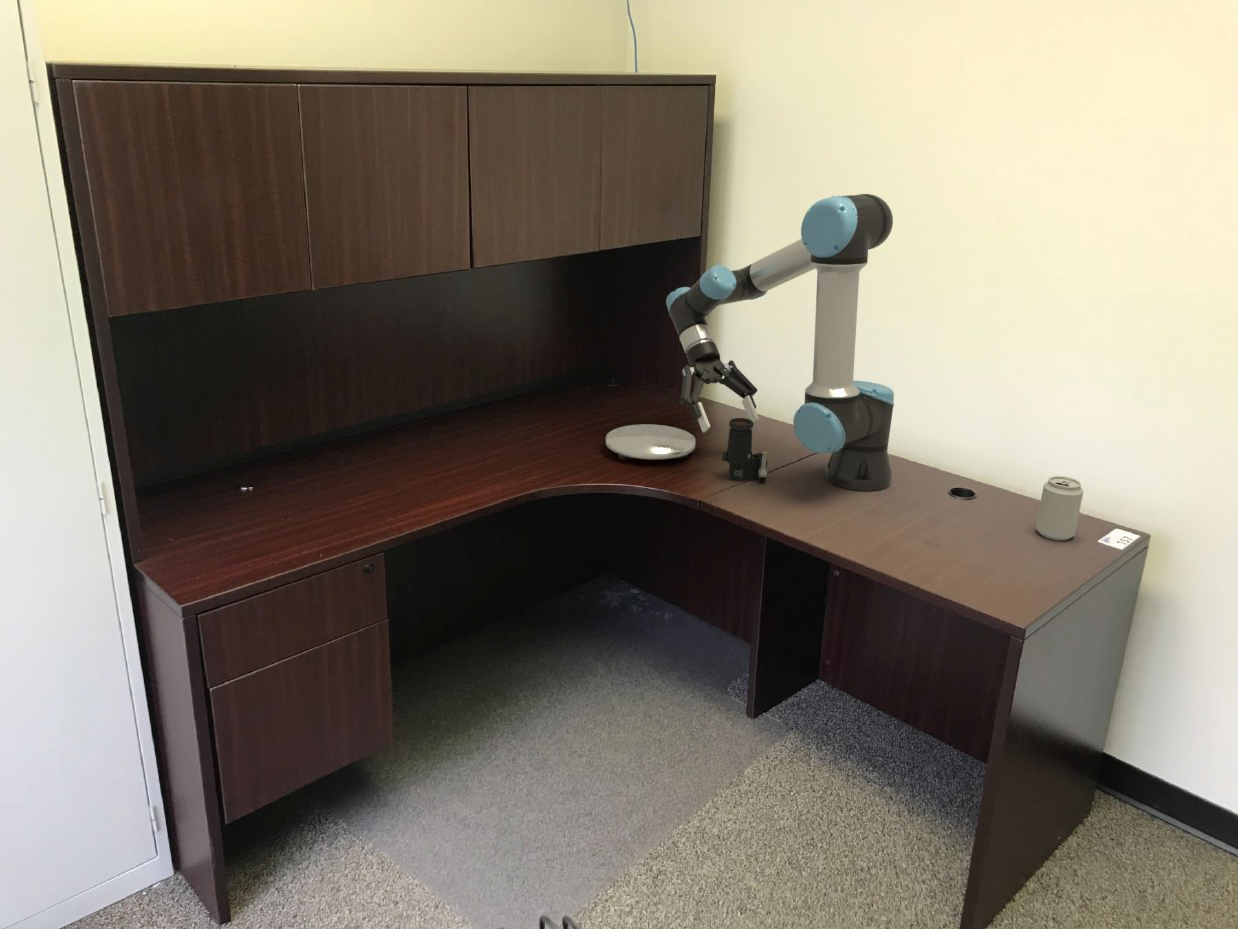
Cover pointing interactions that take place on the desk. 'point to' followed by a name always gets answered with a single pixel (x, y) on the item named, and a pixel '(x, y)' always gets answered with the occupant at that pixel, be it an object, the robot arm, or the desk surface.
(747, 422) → the scope
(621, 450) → the base
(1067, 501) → the can
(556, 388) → the desk surface
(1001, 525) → the desk surface
